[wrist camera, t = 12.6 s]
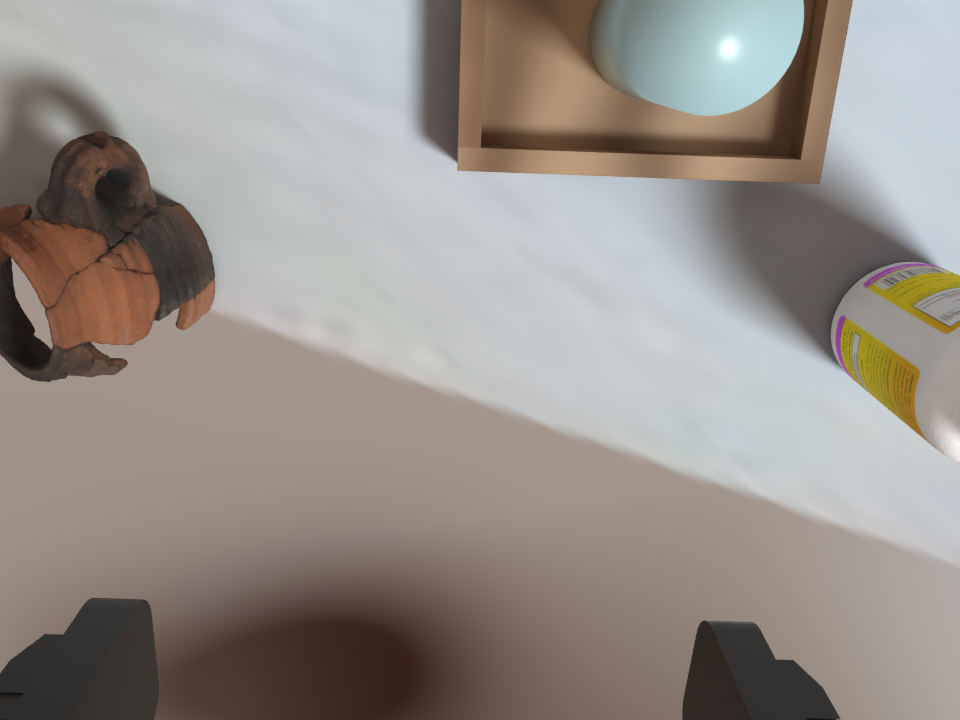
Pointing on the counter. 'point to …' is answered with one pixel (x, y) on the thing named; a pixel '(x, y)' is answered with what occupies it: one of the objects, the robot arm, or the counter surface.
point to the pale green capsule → (695, 50)
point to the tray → (630, 104)
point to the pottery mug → (98, 262)
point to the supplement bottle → (906, 346)
